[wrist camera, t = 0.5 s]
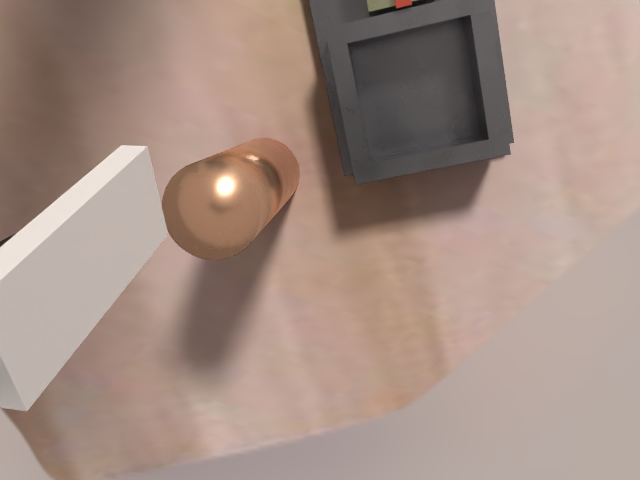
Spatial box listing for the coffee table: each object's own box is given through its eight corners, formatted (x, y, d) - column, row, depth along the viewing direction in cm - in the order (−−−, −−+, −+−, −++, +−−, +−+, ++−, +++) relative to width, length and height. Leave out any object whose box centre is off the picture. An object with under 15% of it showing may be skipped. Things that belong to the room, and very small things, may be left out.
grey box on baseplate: (301, -43, 34) (290, -61, 30) (478, -89, 33) (491, -114, 29) (346, 176, 37) (341, 188, 33) (511, 144, 36) (527, 151, 31)
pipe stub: (223, 146, 37) (150, 171, 26) (291, 131, 37) (247, 151, 25) (239, 213, 38) (176, 267, 27) (306, 200, 38) (270, 250, 26)
